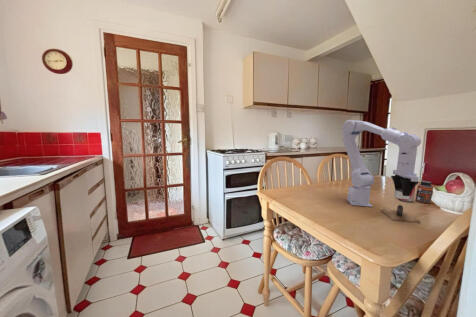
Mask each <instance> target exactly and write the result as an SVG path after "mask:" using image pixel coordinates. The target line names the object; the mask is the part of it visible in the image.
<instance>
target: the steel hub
mask: <svg viewBox="0 0 476 317" xmlns="http://www.w3.org/2000/svg"><path fill="white" fill-rule="evenodd" d="M394 197H395V198H396V199H399V198H400V199H409V198H410V196H403V194H402V189H395V188H394ZM400 199H399V200H400Z"/></svg>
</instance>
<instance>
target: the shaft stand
mask: <svg viewBox="0 0 476 317" xmlns="http://www.w3.org/2000/svg"><path fill="white" fill-rule="evenodd" d="M380 211H381V212H382V213H383V214H384V215H385V216H387V217H388V218H389V219H390V220H391V221H397V222H407V223H418V224H421V221H420V220H419V219H417V218H416V217H415V216H413V215H412V214H410V213H408V212H407V211H404V206H403V205H402V204H398V205H397V208H396V210H391V209H390V210H389V209H388V210H387V209H380Z"/></svg>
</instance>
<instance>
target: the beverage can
mask: <svg viewBox="0 0 476 317" xmlns="http://www.w3.org/2000/svg"><path fill="white" fill-rule="evenodd" d="M415 191H416V186H415V187H414V188H413V190H412V192H411V194H410V198H409V199H400V198H398V199H399V200H400V201H402V202H405V203H409V202H410V203H411V202H413V201H414V198H415Z"/></svg>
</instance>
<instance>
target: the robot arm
mask: <svg viewBox="0 0 476 317" xmlns="http://www.w3.org/2000/svg"><path fill="white" fill-rule="evenodd" d="M341 129H342V130H341V131H342V141H343V144H344V147H345V150H346V154H347V157H348V160H349V162H350V165H351V168H352V171H351V174H350V176H351V184H352V185H353V186H349V187H348V188H347V198H346V201H347V202H348V203H349V204H350V205H351V206H361V207H370V208H372V207H373V205H372V204H371V203H370V198H371V188H372V185H374V182H375V177H374V176H373V175H372V173H371V172H370V170H369V169H368V168H366V167H365V163H364V161H363V158H362V156H361V153H360V150H359V147H358V145H357V142H356V139H357V138H358V136H359V135H361V134H362V132H364V131H367V132H369V133H373V134H375V135H379V136H380V137H381V139H382V140H383V141H387V142H388V143H392V144H394V145H397V147H398V157H397V163H396V169H393V170H392V174H393V175H390V177H391V179H392V182H393V185H394V190H395V189H402V194H403V196H410V194H411V192H412V190H413V188H414V187H415V188H416V186H418V185H419V176H417V175H418V174H417V173H415V167H416V160H417V154H418V152H417V151H418V147H419V146H420V145H421V142H422V140H421V138H420V137H419V136H418V135H416V134H412V133H411V134H409V132H408V131H401V130H398V129H397V128H396V127H394V126H393V127H388V128H384V127H381V126H378V125H376V124H374V123H371V122H369V121H363V120H355V119H354V120H353V119H348V120H345V122H344V123H343V125H342V127H341Z"/></svg>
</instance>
